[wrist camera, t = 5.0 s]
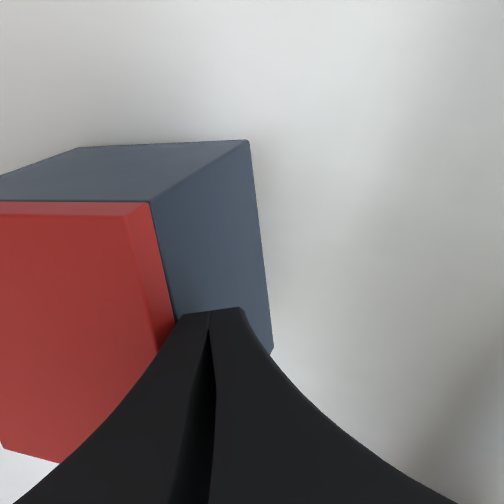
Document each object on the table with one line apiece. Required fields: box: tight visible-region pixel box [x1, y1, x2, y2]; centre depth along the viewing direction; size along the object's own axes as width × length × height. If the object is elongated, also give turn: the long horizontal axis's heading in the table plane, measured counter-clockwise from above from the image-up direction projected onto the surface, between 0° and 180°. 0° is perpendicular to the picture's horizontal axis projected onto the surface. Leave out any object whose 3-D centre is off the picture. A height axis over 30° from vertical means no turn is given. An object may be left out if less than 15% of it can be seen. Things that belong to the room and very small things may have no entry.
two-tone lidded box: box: [0, 140, 274, 464], centre depth 13 cm, size 7×6×6 cm
